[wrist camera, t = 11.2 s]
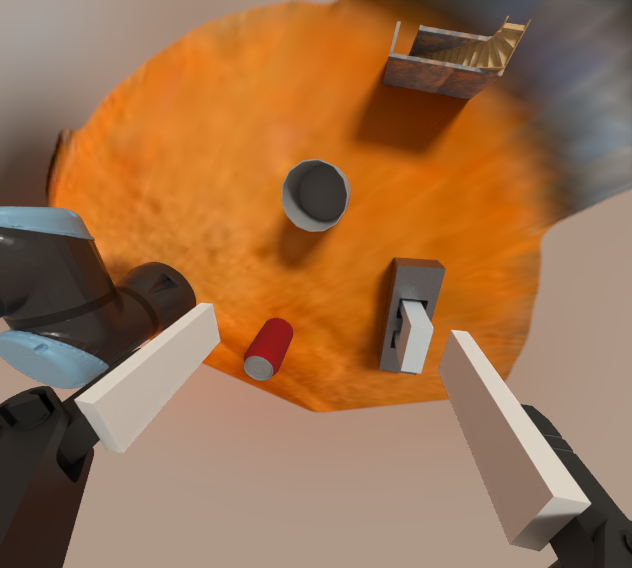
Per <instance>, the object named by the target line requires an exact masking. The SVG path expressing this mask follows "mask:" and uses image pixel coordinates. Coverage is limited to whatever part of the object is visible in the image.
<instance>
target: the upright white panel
mask: <svg viewBox="0 0 632 568" xmlns="http://www.w3.org/2000/svg"><path fill="white" fill-rule="evenodd" d="M399 308H400V311H401V314H402V318H403V324H402V329H401V331H393V337H394V342H395V346H396V351H397V356H398V360H399V365H400V369H401V371H406V372H413V373H421V371H422V368H423V364H424V361H425V357H426V354H427V350H428V347H429V343H430V340H431V337H432V333H433V330H434V328H433V326H432V324H431V322H430V320H429V318H428V316H427V314H426V312H425V310H424V308H423V306H422V304H421V302H420V300H415V299H405V298H400V300H399Z"/></svg>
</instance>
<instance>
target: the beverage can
mask: <svg viewBox="0 0 632 568" xmlns="http://www.w3.org/2000/svg"><path fill="white" fill-rule="evenodd" d="M292 337H293V329H292V327H291V326H290V324H289V323H288V322H286V321H285V320H283V319H279V318H273V319H270V320H268V321H267V322H266V323H265V325H264V326H263V327H262V329H261V330H260V332H259V333H258V335H257V336H256V338H255V339H254V341H253V342H252V344H251V346H250V347H249V349H248V350H247V352H246V353H245V356H244V370H245V372H246V373H247V375H248V376H250V377H251V378H253V379H255V380H259V381H265V380H268V379H270V378H271V376H273V375H275V374H276V373H277V372H278V370H279V368H280V366H281V363H282V361H283V359H284V356H285V354H286V352H287V349H288V347H289V345H290V342H291V340H292Z"/></svg>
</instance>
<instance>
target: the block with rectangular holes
mask: <svg viewBox="0 0 632 568" xmlns="http://www.w3.org/2000/svg"><path fill="white" fill-rule="evenodd" d="M445 270H446V269H445V268H444V267H443V266H442V265H441V264H440V263H439V262H438V261H437V260H423V259H408V258H394V263H393V269H392V275H391V280H390V286H389V292H388V298H387V304H386V310H385V315H384V321H383V327H382V333H381V339H380V345H379V351H378V364H379V370H386V371H393V372H400V373H407V374H414V375H416V374H417V373H413V372H406V371H401V369H400V365H399V360H398V356H397V351H396V346H395V342H394V337H393V331H401V329H402V324H403V318H402V314H401V311H400V308H399V307H398V305H399V300H400V298H405V299H415V300H420V302H421V304H422V306H423V308H424V310H425V312H426V314H427V316H428V318H429V320H430V322H431V320H432V316H433V313H434V309H435V305H436V302H437V298H438V295H439V291H440V288H441V284H442V280H443V277H444V273H445Z"/></svg>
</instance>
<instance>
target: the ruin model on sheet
mask: <svg viewBox="0 0 632 568" xmlns="http://www.w3.org/2000/svg"><path fill="white" fill-rule="evenodd" d="M508 17H509V16H507V18H506V19H505V22H504V24H503V25H502V26H501V27H500V28H499V30H498V31H497V32H496V33H495V34H494V36H493V37H491V36H489V37H485V36H479V35H473V34H467V33H461V32H455V31H449V30H443V29H437V28H430V27H424V26H423V25H420V27H419V30H418V33H417V35H416V38H415V40H414V43H413V45H412V48H411V51H410V53H409V55H408V56H407V55H402V54H396V53H393V50H394V46H395V42H396V38H397V34H398V30H399V26H400V23H401V22H399V21H398V22H397V26H396V30H395V34H394V38H393V42H392V46H391V50H390V54H389V58H388V62H387V66H386V70H385V75H384V79H383V83H382V84H387V85H393V86H398V87H403V88H409V89H414V90H420V91H425V92H430V93H436V94H441V95H447V96H452V97H457V98H463V99H468V100H470V99H471V98H472V97H474V96H475V95H476V94H478V93H479V92H481V91H482V90H483V89H485V88H486V87H487V86H489V85H490V84H491V83H493V82H494V81H495V80H497V79H498V78H499V77H501V76H502V74H503V71H504V69H505V67H506V65H507V63H508V61H509V59H510V57H511V55H512V53H513V52H514V50H515V48H516V46H517V44H518V43H519V41H520V39H521V37H522V35H523V34H524V32H525V30H526V28H527V26H528V25H529V23H530V21H531V19H530V20H529V21H528V23H527V25H526V26H523V25H517V24H510V23H506V21H507V19H508Z"/></svg>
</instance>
